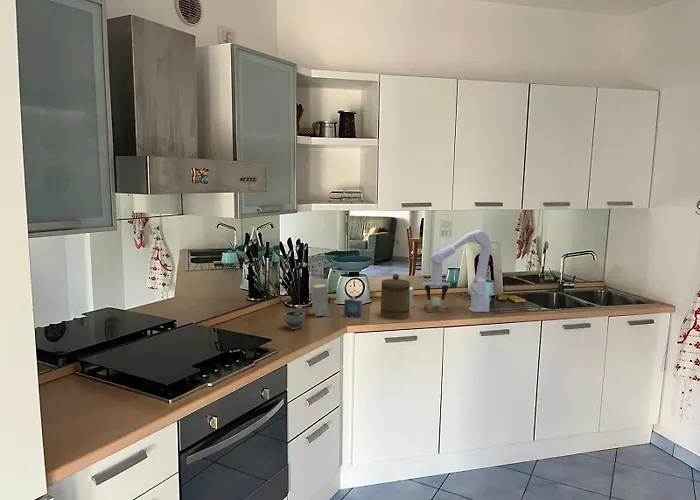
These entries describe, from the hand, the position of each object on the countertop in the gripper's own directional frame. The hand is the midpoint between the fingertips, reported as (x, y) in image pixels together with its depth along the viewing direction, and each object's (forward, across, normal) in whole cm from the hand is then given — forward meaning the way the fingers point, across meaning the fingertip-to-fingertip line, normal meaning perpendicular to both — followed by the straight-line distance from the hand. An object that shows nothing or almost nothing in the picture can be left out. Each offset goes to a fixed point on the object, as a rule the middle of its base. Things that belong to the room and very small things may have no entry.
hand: (435, 299), depth 293 cm
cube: (+3, 0, 0) cm, 3 cm away
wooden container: (+6, -24, -11) cm, 27 cm away
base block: (+6, 0, 0) cm, 6 cm away
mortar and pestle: (+6, -75, -33) cm, 82 cm away
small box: (+6, -15, +9) cm, 19 cm away
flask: (+6, -46, -12) cm, 48 cm away
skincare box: (+6, -63, -9) cm, 64 cm away
